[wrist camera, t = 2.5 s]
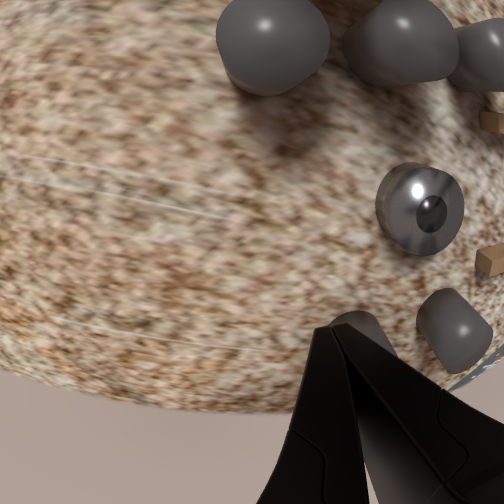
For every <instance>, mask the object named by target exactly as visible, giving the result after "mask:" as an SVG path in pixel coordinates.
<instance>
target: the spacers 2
mask: <svg viewBox="0 0 504 504" xmlns="http://www.w3.org/2000/svg"><path fill="white" fill-rule="evenodd" d="M343 322H347V323H349V324H350V325H352V326H353V327H354V328H356V329H357V330H359V331H360V332H362V333H363V334H365V335H366V336H368V337H369V338H370V339H372V340H373V341H375V342H376V343H378V344H379V345H381V346H382V347H383V348H385V349H386V350H388V351H389V352H391V353H392V354H394V355H395V356H397V354H396V352H395V350H394V349H393V347H392V345H391V343H390V342H389V340H388V338H387V336H386V335H385V333H384V331H383V329H382V328H381V326H380V324H379V323H378V321H377V319H376V318H375V317H374V316H373V315H372V314H370V313H369V312H366V311H351V312H347V313H345V314H342V315H340V316H339V317H337V318H336V319H334V320H333V321H332V322H331V323H330V324H329V325H328V326H330V327H331V326H332V325H333V324H338V323H343ZM416 325H417V328H418V330H419V331H420V332H421V334H422V335H423V337H424V338H425V340H426V341H427V342H428V344H429V345H430V347H431V348H432V350H433V351H434V353H435V354H436V356H437V357H438V359H439V360H440V362H441V363H442V365H443V366H444V368H445V369H446V371H447V372H448V373H451V374H458V373H461V372H463V371H466V370H467V369H469V368H471V367H472V366H473V365H475V364H476V363H477V362H478V361H479V360H480V359H481V358H482V357H483V355H484V354H485V353H486V351H487V350H488V348H489V346H490V344H491V341H492V338H493V329H492V327H491V326H490V325H489V324H488V323H487V322H486V321H485V320H484V319H483V318H482V317H481V315H480V314H479V313H478V312H477V311H476V310H475V309H474V308H473V307H472V306H471V305H470V304H469V303H468V302H467V301H466V300H465V299H464V298H463V297H462V296H461V295H460V294H459V293H458V292H457V291H456V290H454V289H452V288H444V289H441V290H438V291H436V292H435V293H433V294H432V295H431V296H430V297H428V299H427V300H426V301H425V302H424V303H423V305H422V306H421V308H420V310H419V312H418V315H417V319H416ZM397 357H398V356H397Z"/></svg>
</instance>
